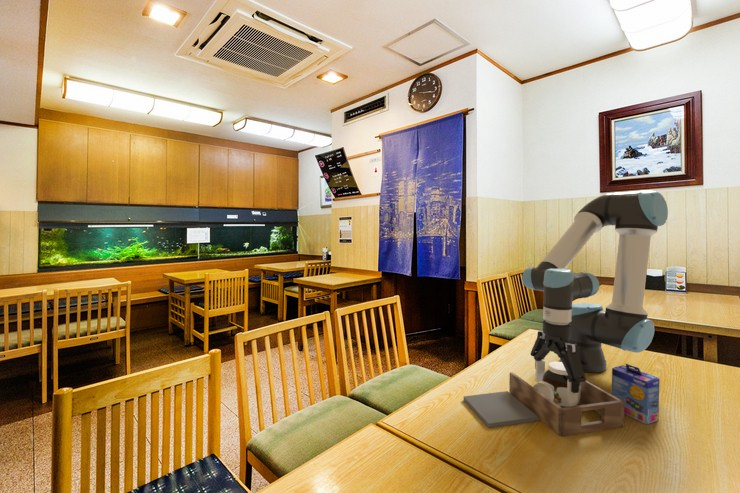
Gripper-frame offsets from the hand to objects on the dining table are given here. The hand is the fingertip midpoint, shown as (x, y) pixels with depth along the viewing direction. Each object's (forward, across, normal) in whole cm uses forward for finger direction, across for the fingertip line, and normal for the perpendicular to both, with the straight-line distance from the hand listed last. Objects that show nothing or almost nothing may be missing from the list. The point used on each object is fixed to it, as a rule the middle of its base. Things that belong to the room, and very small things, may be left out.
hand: (554, 391), depth 106 cm
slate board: (+4, -1, -18) cm, 18 cm away
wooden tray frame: (+4, +2, 0) cm, 5 cm away
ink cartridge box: (+4, +9, +18) cm, 21 cm away
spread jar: (+4, 0, 0) cm, 5 cm away
